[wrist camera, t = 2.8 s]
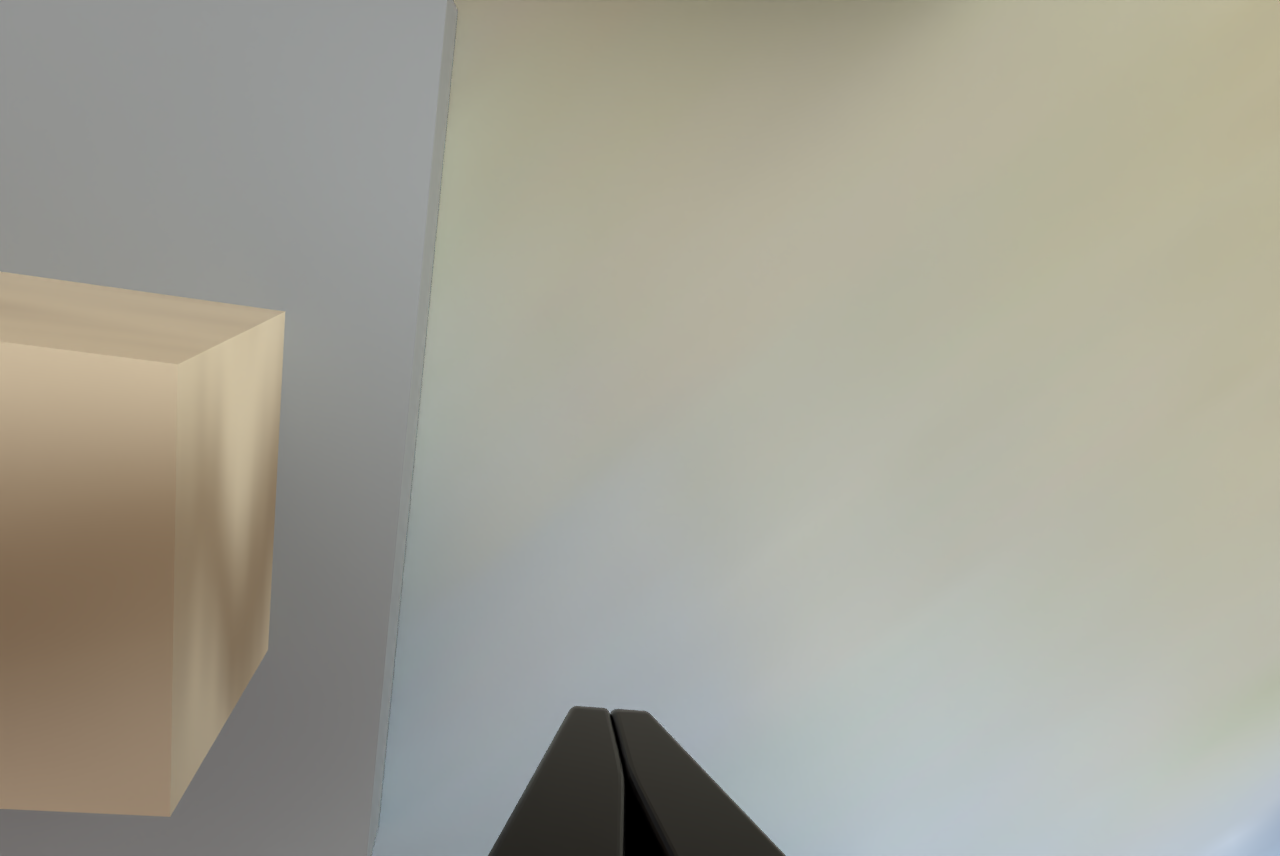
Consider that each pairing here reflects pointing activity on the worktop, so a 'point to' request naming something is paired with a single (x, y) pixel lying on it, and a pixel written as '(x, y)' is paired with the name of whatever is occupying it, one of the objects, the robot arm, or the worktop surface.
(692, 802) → the robot arm
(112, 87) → the trap runway
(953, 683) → the worktop surface
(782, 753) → the worktop surface
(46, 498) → the maple block
